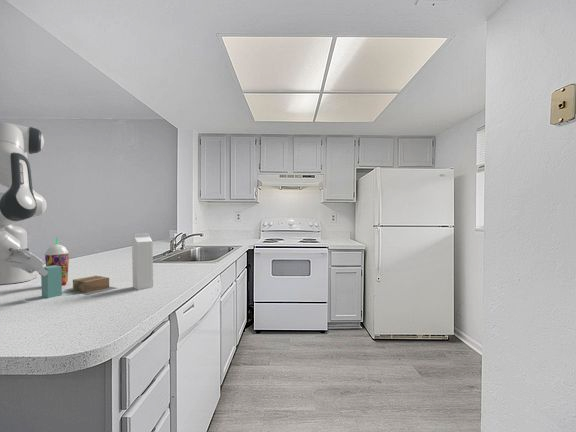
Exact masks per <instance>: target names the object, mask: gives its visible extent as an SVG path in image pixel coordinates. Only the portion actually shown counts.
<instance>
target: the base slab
mask: <svg viewBox="0 0 576 432" xmlns="http://www.w3.org/2000/svg"><path fill="white" fill-rule="evenodd" d="M109 286H110V277H106V276H100V275H92V276H87V277H81V278H76V279H75V278H74V279H72V288H73V290H75V291H80V292H84V293H88V292H92V291H97V290H102V289H106V288H109Z"/></svg>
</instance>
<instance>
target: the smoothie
mask: <svg viewBox="0 0 576 432" xmlns="http://www.w3.org/2000/svg"><path fill="white" fill-rule="evenodd" d="M69 257H70V251H69V250H68V248H67V247H66V246H64V245H63V244H59V240H58V237H56V238H55V244H52V245H50V246H49V247H48V248H47V249H46V251H45V253H44V260H45V261H44V262H45V267H46V266H53V265H56V266H61V274H62V287H63V286H66V285H67V283H68V280H69V264H70V263H69V262H70V260H69Z"/></svg>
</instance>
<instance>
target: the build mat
mask: <svg viewBox="0 0 576 432" xmlns="http://www.w3.org/2000/svg"><path fill="white" fill-rule="evenodd" d="M116 289H118V287H116V286H115V287H114V286H111V285H109V288H106V289H102V290H97V291H92V292H88V293H84V292H80V291H75V290H73V287H70V288H67V289H64V291H67V292H71V293H76V294H77V293H78V294H81V295H86V296H88V295H93V294H94V295H95V294H99V293H102V292H106V291H107V292H108V291H112V290H116Z"/></svg>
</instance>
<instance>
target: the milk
mask: <svg viewBox="0 0 576 432" xmlns="http://www.w3.org/2000/svg"><path fill="white" fill-rule="evenodd" d="M133 235H134V237H133V239H132V240H131V252H132V253H131V260H132V263H131V265H132V267H131V268H132V288H134V289H136V290H143V289H150V288H154V264H153V263H154V260H153V259H154V257H153V256H154V254H153V250H154V249H153V244H154V243H153V242H154V241H153V240H152V238H151V233H150V232H140V233H139V232H138V233H137V232H136V233H134V234H133Z"/></svg>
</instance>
